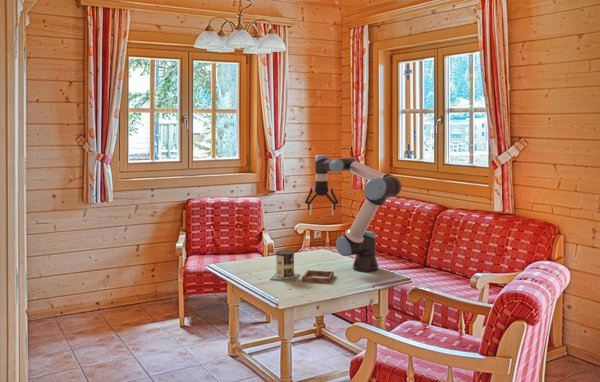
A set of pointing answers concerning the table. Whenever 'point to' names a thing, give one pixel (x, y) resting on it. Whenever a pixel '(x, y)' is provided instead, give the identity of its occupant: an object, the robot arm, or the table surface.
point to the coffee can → (285, 264)
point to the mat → (284, 279)
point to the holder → (318, 273)
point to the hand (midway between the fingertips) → (321, 215)
